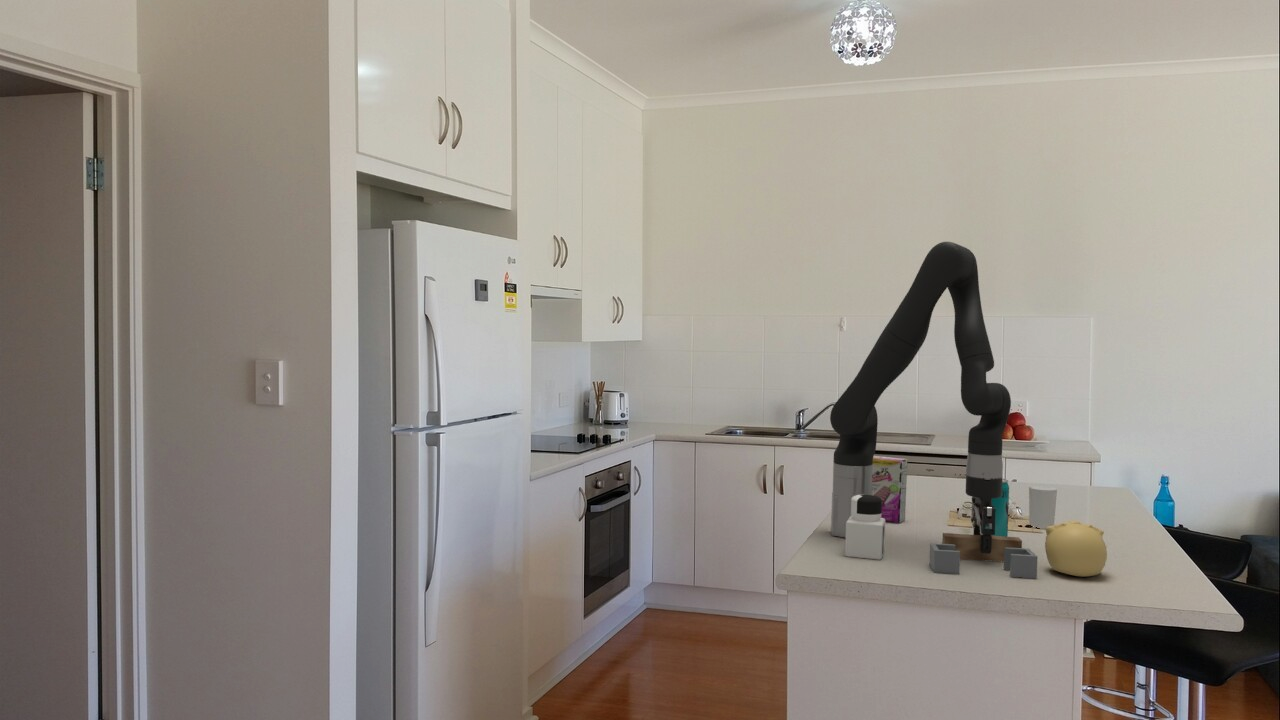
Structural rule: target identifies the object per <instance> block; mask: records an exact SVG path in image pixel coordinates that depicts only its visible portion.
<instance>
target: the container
mask: <svg viewBox="0 0 1280 720" xmlns="http://www.w3.org/2000/svg"><path fill="white" fill-rule="evenodd" d="M881 513H882V500H881V499H880V498H879V497H877V496H873V495H856V496H854V497H852V498H851V515H852V516H850V517H849V519H848V520H847V522H846V538H845V542H844V543H845V551H844V556H845V557H848V558H849V557H850V558H859V559H871V560H877V561H878V560H879V561H880V560H882V558H883V556H884V554H885V543H886V541H885V539H886V522H885V519H884V518H880V517H881Z"/></svg>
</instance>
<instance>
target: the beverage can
mask: <svg viewBox="0 0 1280 720" xmlns="http://www.w3.org/2000/svg"><path fill="white" fill-rule="evenodd" d="M991 501H992V506H994V507H995V509H996V511H995V535H993V536H1004V537H1009V536H1008V534H1009V533H1008V531H1009V505H1010V502H1009V501H1010V486H1009V479H1006V478H1002V496H1001V497H999V498H992V500H991ZM985 529H989V527H988V526H985Z"/></svg>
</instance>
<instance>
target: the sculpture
mask: <svg viewBox="0 0 1280 720" xmlns="http://www.w3.org/2000/svg"><path fill="white" fill-rule="evenodd" d="M1045 531H1046V532H1045V533H1046V536H1045V540H1044V541H1045V543H1044V549H1045V554H1046V559H1047V562H1048V564H1049V566H1050V567H1051V568H1052V569H1053V570H1054V571H1056V572H1059V573H1061V574H1065V575H1068V576H1069V575H1071V576H1075V577H1093V576H1096V575H1098V574H1100V573H1101V572H1102V571H1103V569H1104V568H1105V566H1106V563H1107V559H1108V550H1107V545H1106V542H1105V541H1104V539H1103V536H1104V534H1105V532H1104V530H1102V529H1100V528H1097V526H1093V525H1092V524H1088V523H1082V522H1080V521H1077V520H1070V521H1067V522H1062V523H1058V524H1054V525H1053V526H1048V527H1046V529H1045Z"/></svg>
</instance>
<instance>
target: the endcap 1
mask: <svg viewBox="0 0 1280 720" xmlns="http://www.w3.org/2000/svg"><path fill="white" fill-rule="evenodd" d="M960 561H961V559H960V551H955V545H954V544H942V543H937V542H936V543H933V542H930V543H929V566H930V569H931V570H932V571H933V573H937V574H951V575H952V574H956V575H960V569H961V568H960V565H961V564H960Z"/></svg>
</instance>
